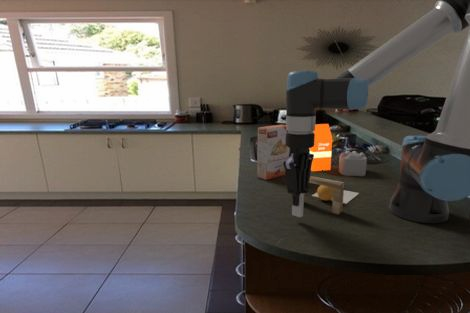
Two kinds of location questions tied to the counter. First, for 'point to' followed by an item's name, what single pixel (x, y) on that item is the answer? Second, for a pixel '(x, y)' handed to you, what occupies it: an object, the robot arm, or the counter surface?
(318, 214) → the counter surface
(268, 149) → the cracker box
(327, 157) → the orange juice
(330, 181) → the bridge
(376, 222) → the counter surface
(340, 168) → the grey toy brick
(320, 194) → the ball
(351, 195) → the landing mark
